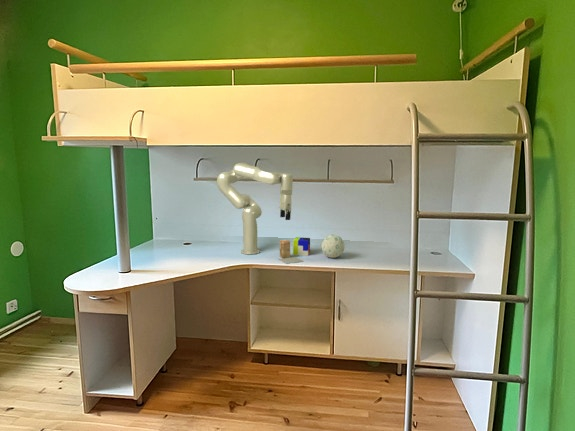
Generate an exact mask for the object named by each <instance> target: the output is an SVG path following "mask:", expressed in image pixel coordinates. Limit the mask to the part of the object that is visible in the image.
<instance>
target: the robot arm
mask: <svg viewBox="0 0 575 431" xmlns="http://www.w3.org/2000/svg"><path fill="white" fill-rule="evenodd" d="M243 178H245V179H246V178H247V179H250V180H254V181H257V182H260V183H263V184H268V185H272V186H274V185H279V184H280V197H279V209H280V213H279V214H280V216H279V217H280V218H285V221H290V220H291V216H292V214H291V213H292V196H293V181H294V180H293V179H294V177H293V174H292V173H288V172H287V173H286V172H285V173H283V172H276V171H275V172H270V171H265V170H262V169H260V168H259V166H255V165H254V166H253V165H249V164H248V163H246V162H239V163H236V164H235V165H233V169H232V170H230V171H223V172H220V174H219V175H217V178H216V185H217V188H218V190H219V191H220V192H221V193H222V194H223V195H224V197H226V199H227V200H228V201H229V202H230V204H232V205H233V207H235V208H236V209H237V210H241V209H243V211H241V219H242V230H243V234H242V235H243V236H242V239H243V240H242V242H243V245H242V246H243V247H242V248H243V249H242V250H241V251H240V252H241V254H243V255H257V254H259V253H260V249H258V222H257V219H258V218H260V217H261V216H262V213H263V212H262V208H261V206H260V205H259V204H258V203H257V202H256V201H255V200H254V199H253V198H252V197H251V196H250V195H249V194H247V193H240V192H239V191H238V190H237V189H236V188H235V187H234V186H232V185H231V184H235V183H237V182H238V181H240V180H242V179H243Z"/></svg>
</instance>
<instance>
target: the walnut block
mask: <svg viewBox="0 0 575 431" xmlns="http://www.w3.org/2000/svg"><path fill="white" fill-rule="evenodd" d="M279 258H280V259H284V258H291V241H290V240H288V239H284V240H283V239H281V240H279Z"/></svg>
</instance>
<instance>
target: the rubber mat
mask: <svg viewBox="0 0 575 431" xmlns="http://www.w3.org/2000/svg"><path fill="white" fill-rule="evenodd" d="M278 260H279V261H280V262H282V263H284V264H286V265H289V264H295V263H303V262H305V260H302V259H301V258H298V257H296V256H293V257H291V256H290V258H284V259H283V258H279V259H278Z"/></svg>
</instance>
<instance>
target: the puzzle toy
mask: <svg viewBox="0 0 575 431" xmlns="http://www.w3.org/2000/svg"><path fill="white" fill-rule="evenodd" d="M310 252H311V238H310V237H301V236H296V237H295V238H294V239H293V240H292V255H293V256H308V257H309V254H310Z"/></svg>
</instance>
